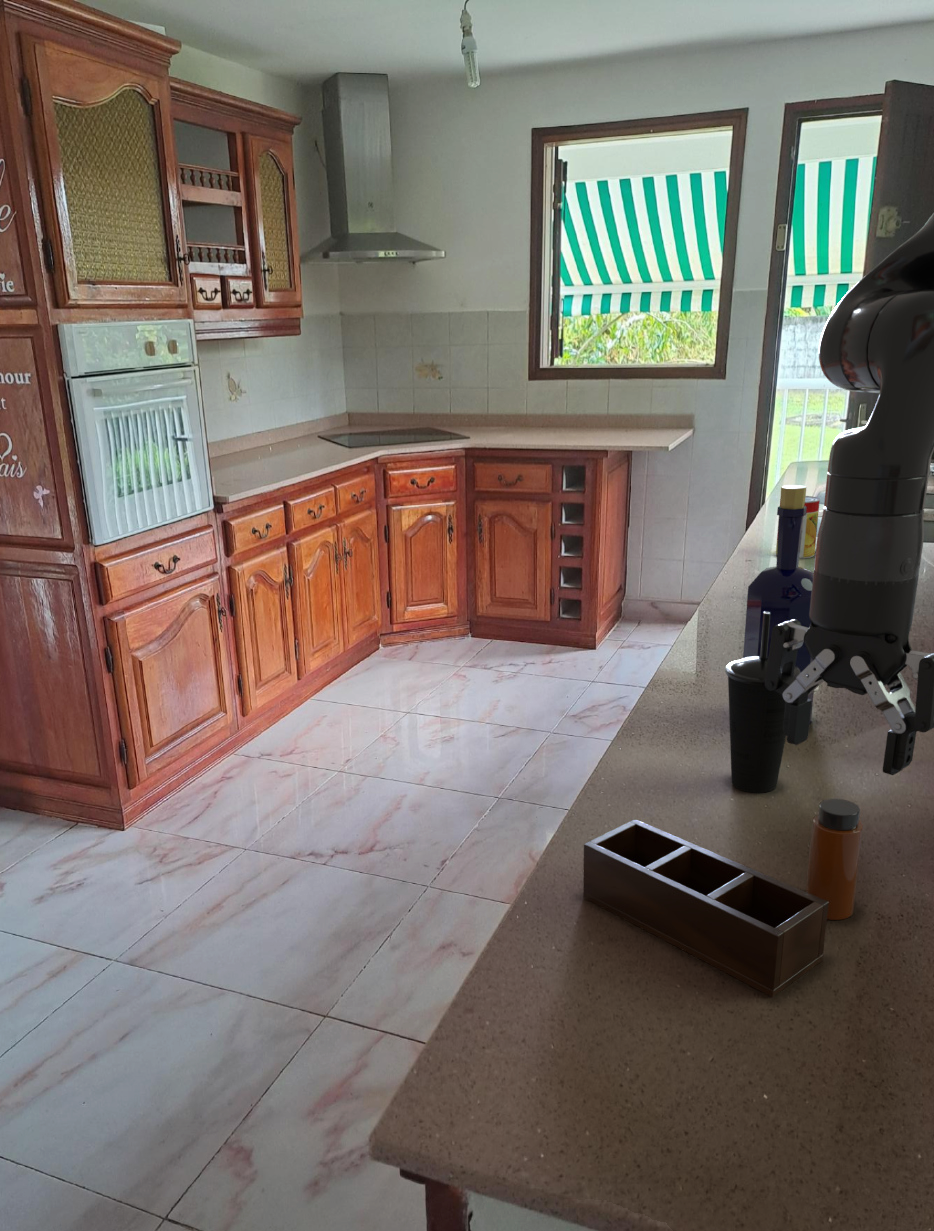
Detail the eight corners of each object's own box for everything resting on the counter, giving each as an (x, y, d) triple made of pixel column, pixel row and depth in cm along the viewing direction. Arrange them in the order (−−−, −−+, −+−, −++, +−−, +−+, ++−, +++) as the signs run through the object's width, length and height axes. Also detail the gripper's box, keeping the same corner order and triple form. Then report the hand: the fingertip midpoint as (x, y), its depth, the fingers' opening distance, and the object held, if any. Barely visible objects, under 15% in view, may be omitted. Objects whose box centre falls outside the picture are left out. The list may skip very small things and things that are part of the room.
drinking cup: (761, 764, 116) (774, 599, 109) (804, 791, 110) (821, 616, 103) (704, 776, 114) (714, 608, 107) (745, 803, 108) (758, 626, 101)
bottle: (806, 708, 132) (827, 480, 122) (818, 734, 124) (842, 492, 113) (734, 706, 134) (749, 481, 124) (741, 732, 126) (757, 494, 115)
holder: (633, 870, 96) (634, 818, 94) (822, 960, 81) (829, 901, 79) (582, 897, 92) (583, 844, 90) (772, 997, 77) (778, 936, 75)
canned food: (815, 551, 216) (820, 496, 212) (813, 559, 209) (818, 502, 205) (777, 550, 219) (781, 495, 215) (773, 557, 212) (778, 501, 208)
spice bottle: (820, 890, 91) (830, 792, 87) (861, 908, 88) (874, 806, 84) (795, 906, 89) (805, 806, 85) (837, 925, 86) (849, 822, 82)
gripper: (983, 572, 74) (951, 769, 80) (809, 546, 85) (791, 721, 91) (934, 590, 70) (904, 797, 76) (757, 560, 81) (742, 744, 86)
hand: (843, 756), depth 83 cm, fingers open, 8 cm apart
